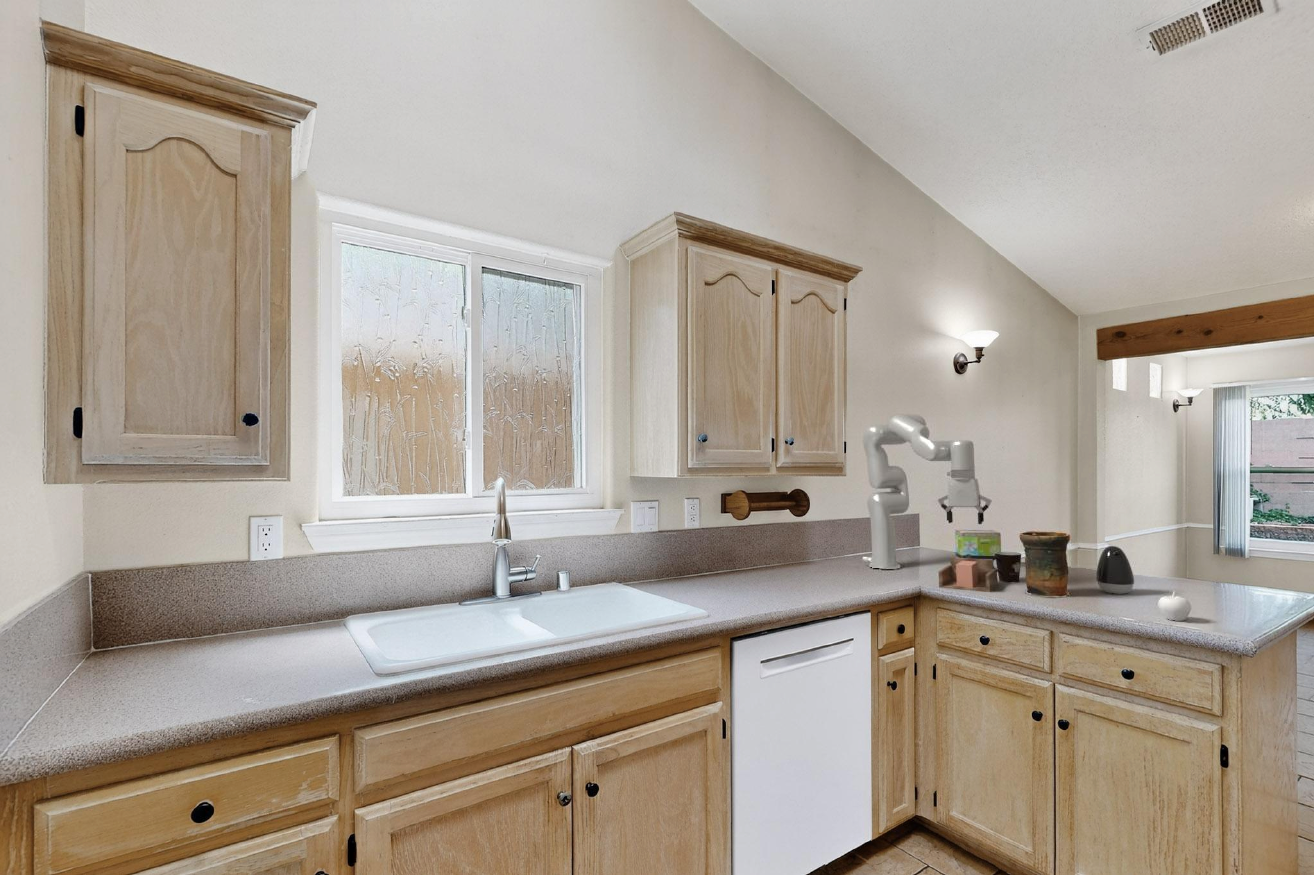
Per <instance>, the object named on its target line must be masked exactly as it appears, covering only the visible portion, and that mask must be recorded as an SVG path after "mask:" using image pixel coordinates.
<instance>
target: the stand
mask: <svg viewBox="0 0 1314 875" xmlns="http://www.w3.org/2000/svg"><path fill="white" fill-rule="evenodd" d="M961 561H975V562H978V580H979V583H978V584H977V585H975V586H974V587H973V588H971V587H960V586H957V575H956V564H958V563H959V562H961ZM998 581H999V580H998V572H997V568H996V569H994V563H993V560H985V559H970V558H956V557H950V565H949V564H948V565H946V566H945V567H944V568H941V569H940V570H938V587H939V588H940V587H944V588H943V589H951V588H953V590H962V589H963V591H964V590H965V591H975V592H985V593H986V592H987V593H991V592H992V591H993V590H994V589H995V587H996V586H998Z"/></svg>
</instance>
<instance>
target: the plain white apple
mask: <svg viewBox="0 0 1314 875" xmlns="http://www.w3.org/2000/svg"><path fill="white" fill-rule="evenodd" d="M1175 595H1176V590H1173V593H1172V595H1165V596H1162V597H1161V598H1159V599H1158V601H1157V605H1158V608H1159V610H1160V612H1161V614H1162V615H1163V617H1164V618H1165V619H1167V620H1168V619H1169V621H1173V620H1175V621H1174V622H1182V621H1185V620H1186V619H1187V618H1188V617H1189V615H1190V613H1191V611H1192V605H1191V603H1190V601H1189V600H1188V598H1185V597H1182V596H1178V595H1176V596H1175Z"/></svg>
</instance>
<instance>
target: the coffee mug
mask: <svg viewBox="0 0 1314 875" xmlns="http://www.w3.org/2000/svg"><path fill="white" fill-rule="evenodd" d="M992 560H993V561H994V560H996V564H997V568H995V567H994V569H997V577H998V581H999V582H1002V583H1012V582H1014V583H1020V578H1021V577H1020V574H1021V564H1022V553H1021V552H1017V551H1016V552H1015V551H1001V552H995V558H994V559H992Z"/></svg>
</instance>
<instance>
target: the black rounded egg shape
mask: <svg viewBox="0 0 1314 875" xmlns="http://www.w3.org/2000/svg"><path fill="white" fill-rule="evenodd" d="M1134 577H1135V576H1134V573H1133V570H1132V566H1131V564H1130V561H1129V559H1128V557H1127V554H1126V553H1125V552H1124V551H1123V549H1122V548H1120V547H1118V546H1115V545H1110V546H1107V547H1105V548H1104V549H1103V551H1101V554H1100V556H1099V559H1098V563H1097V567H1096V574H1095V581H1096V582H1097V585H1098V586H1099V588H1100V589H1101V590H1102V591H1104V592H1105V593H1108V594H1112V593H1114V595H1125V594H1128V593H1129V592H1131V590H1132V589H1133V587H1134V584H1135V578H1134Z"/></svg>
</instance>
